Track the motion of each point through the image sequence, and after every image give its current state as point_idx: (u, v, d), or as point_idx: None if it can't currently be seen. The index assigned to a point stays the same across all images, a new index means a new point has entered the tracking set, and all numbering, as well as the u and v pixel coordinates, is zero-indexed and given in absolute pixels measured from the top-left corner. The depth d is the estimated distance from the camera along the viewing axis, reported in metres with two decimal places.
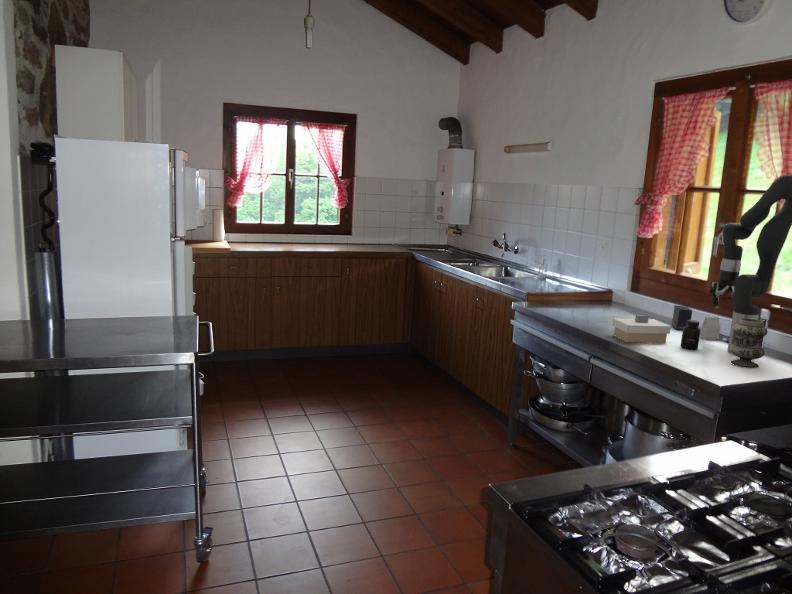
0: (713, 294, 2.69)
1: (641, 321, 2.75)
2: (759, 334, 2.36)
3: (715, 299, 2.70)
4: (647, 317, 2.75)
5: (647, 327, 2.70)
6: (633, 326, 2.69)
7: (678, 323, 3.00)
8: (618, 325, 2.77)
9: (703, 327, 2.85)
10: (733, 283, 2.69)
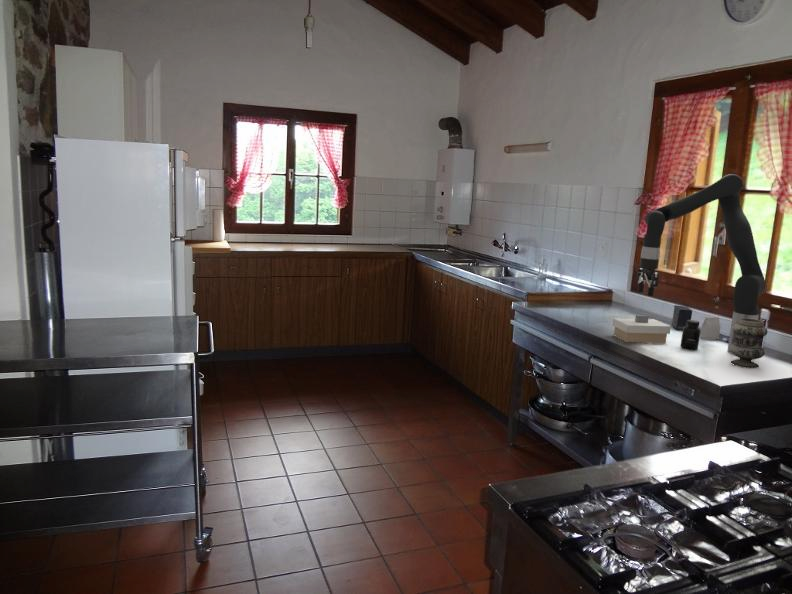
0: None
1: (641, 321, 2.75)
2: (759, 334, 2.36)
3: None
4: (647, 317, 2.75)
5: (647, 327, 2.70)
6: (633, 326, 2.69)
7: (678, 323, 3.00)
8: (618, 325, 2.77)
9: (703, 327, 2.85)
10: None
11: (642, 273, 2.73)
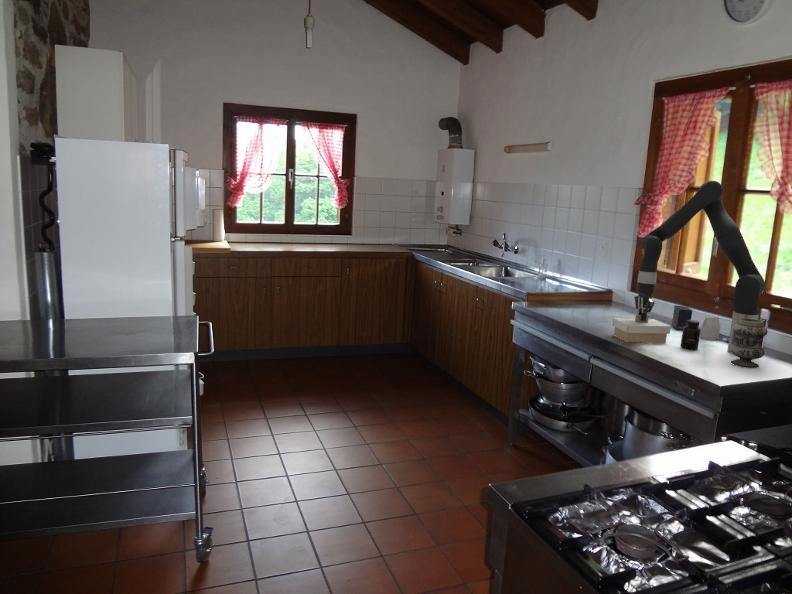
0: None
1: (641, 321, 2.75)
2: (759, 334, 2.36)
3: None
4: (647, 317, 2.75)
5: (647, 327, 2.69)
6: (633, 326, 2.69)
7: (678, 323, 3.00)
8: (618, 325, 2.77)
9: (703, 327, 2.85)
10: None
11: (639, 297, 2.75)
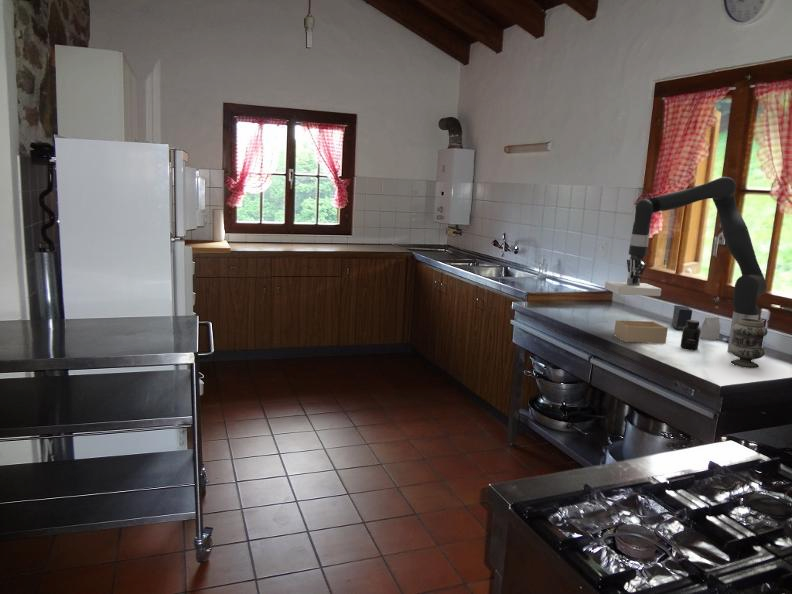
0: None
1: (633, 284, 2.80)
2: (759, 334, 2.36)
3: (637, 277, 2.79)
4: (639, 280, 2.80)
5: (638, 289, 2.75)
6: (625, 288, 2.74)
7: (678, 323, 3.00)
8: (610, 287, 2.82)
9: (703, 327, 2.85)
10: None
11: (631, 260, 2.80)
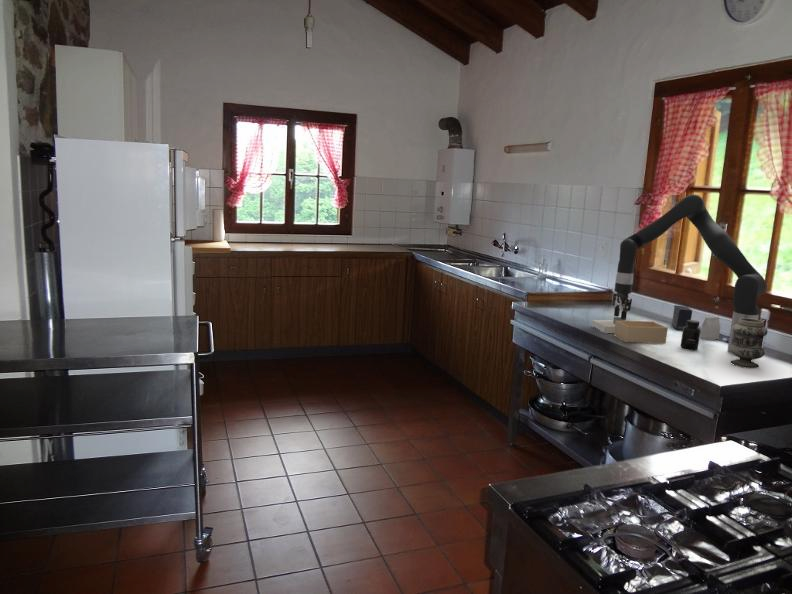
0: None
1: None
2: (759, 334, 2.36)
3: None
4: None
5: None
6: (610, 327, 2.85)
7: (678, 323, 3.00)
8: (597, 326, 2.93)
9: (703, 327, 2.85)
10: None
11: (617, 297, 2.91)
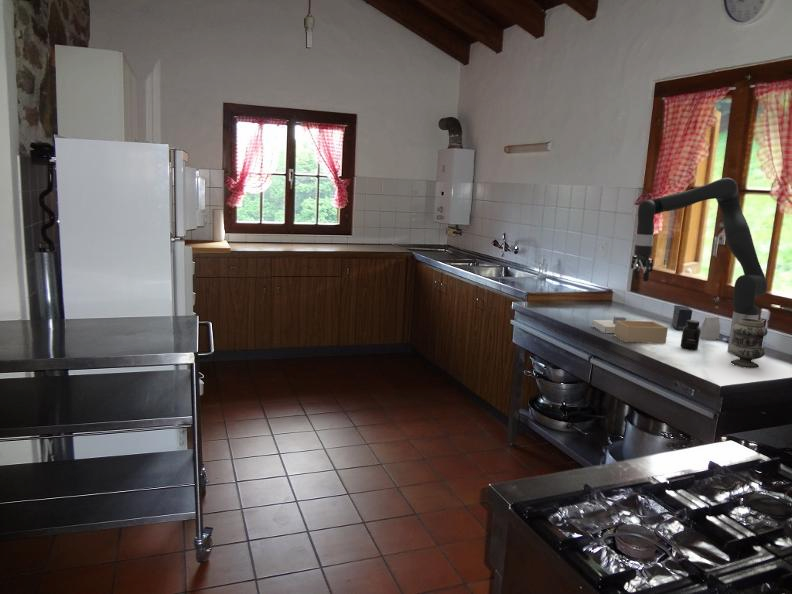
0: None
1: None
2: (759, 334, 2.36)
3: None
4: (624, 319, 2.91)
5: None
6: (610, 327, 2.85)
7: (678, 323, 3.00)
8: (597, 326, 2.93)
9: (703, 327, 2.85)
10: None
11: (637, 260, 2.86)
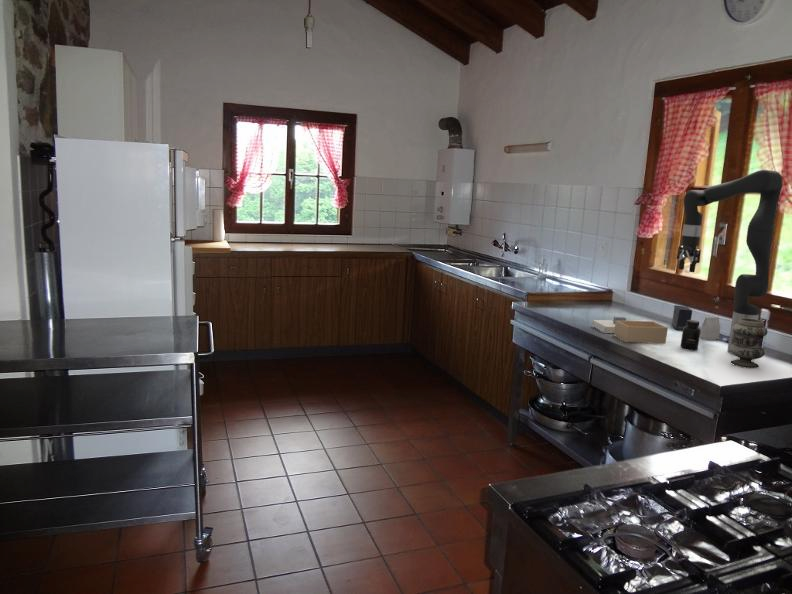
0: None
1: None
2: (759, 334, 2.36)
3: (694, 265, 2.80)
4: (624, 319, 2.91)
5: None
6: (610, 327, 2.85)
7: (678, 323, 3.00)
8: (597, 326, 2.93)
9: (703, 327, 2.85)
10: None
11: (683, 250, 2.84)
